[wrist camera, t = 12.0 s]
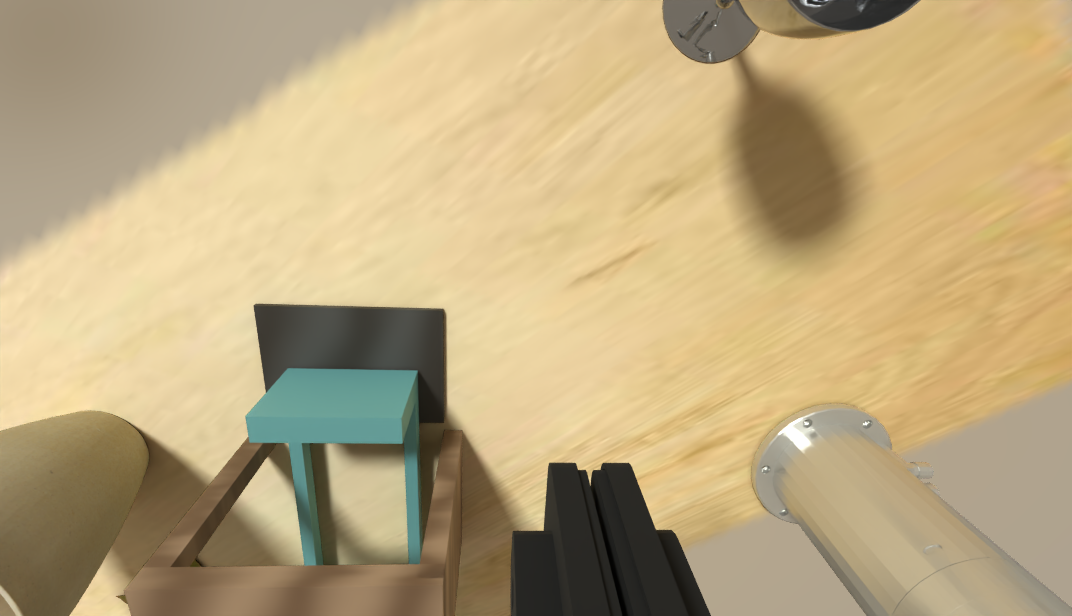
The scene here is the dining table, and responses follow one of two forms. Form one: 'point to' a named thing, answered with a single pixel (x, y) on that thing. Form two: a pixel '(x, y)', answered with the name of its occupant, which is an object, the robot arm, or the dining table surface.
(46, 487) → the plant pot
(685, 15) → the wine glass
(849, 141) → the dining table surface
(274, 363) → the tunnel
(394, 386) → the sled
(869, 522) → the robot arm
